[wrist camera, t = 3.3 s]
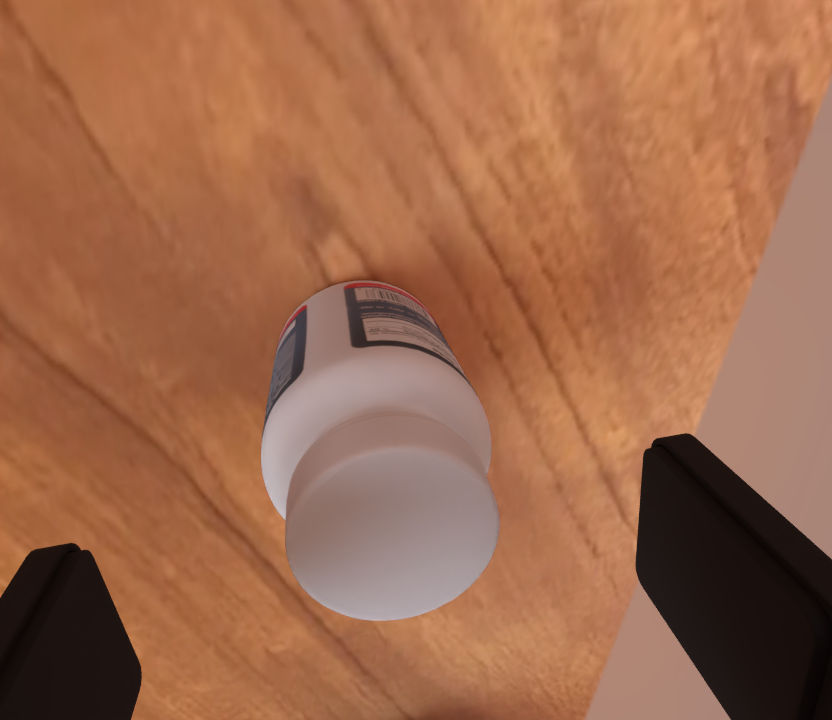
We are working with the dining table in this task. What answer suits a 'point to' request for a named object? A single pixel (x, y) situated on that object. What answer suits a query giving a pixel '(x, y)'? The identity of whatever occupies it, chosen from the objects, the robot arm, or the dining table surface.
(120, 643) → the robot arm
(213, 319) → the dining table surface
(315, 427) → the pill bottle
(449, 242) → the dining table surface
